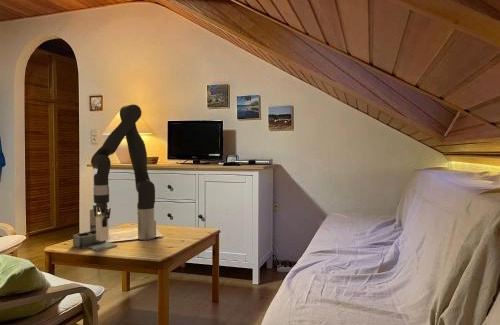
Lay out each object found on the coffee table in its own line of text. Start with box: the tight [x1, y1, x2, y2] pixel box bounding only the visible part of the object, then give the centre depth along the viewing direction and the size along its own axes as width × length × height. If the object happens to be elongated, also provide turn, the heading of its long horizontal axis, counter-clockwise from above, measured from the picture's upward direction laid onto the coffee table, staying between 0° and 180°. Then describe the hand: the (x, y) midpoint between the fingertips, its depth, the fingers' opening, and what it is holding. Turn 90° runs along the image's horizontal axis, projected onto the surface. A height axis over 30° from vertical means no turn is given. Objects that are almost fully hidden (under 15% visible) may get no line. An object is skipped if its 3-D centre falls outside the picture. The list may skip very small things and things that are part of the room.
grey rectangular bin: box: [72, 230, 107, 250], centre depth 203 cm, size 14×8×6 cm, turn 140°
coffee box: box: [89, 208, 109, 235], centre depth 220 cm, size 9×6×16 cm
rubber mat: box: [88, 241, 118, 252], centre depth 199 cm, size 11×9×1 cm
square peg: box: [96, 216, 109, 241], centre depth 198 cm, size 4×4×12 cm
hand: (102, 225), depth 198 cm, fingers closed on square peg, 4 cm apart
